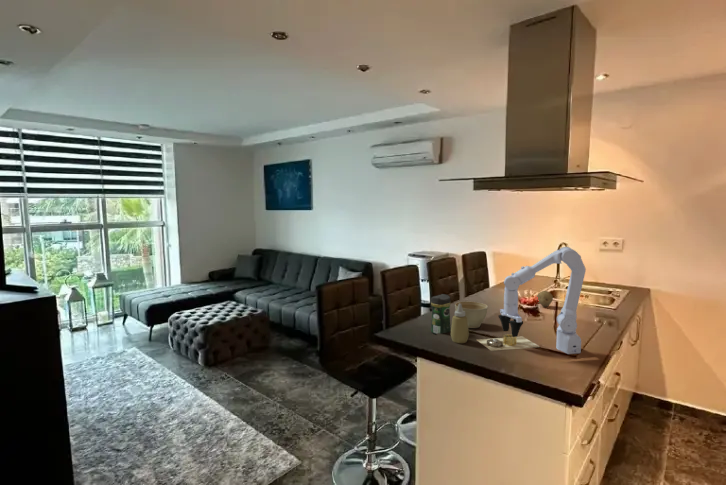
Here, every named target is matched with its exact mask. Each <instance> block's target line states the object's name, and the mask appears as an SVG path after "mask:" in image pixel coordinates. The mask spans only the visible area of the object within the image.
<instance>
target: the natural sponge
mask: <svg viewBox="0 0 726 485" xmlns="http://www.w3.org/2000/svg"><path fill="white" fill-rule="evenodd" d="M537 297H538V300H539V302H537V303H538V304H539V305H541V306H542V307H543V308H547V307H549V306H550V305H551V304H552V302H553V301H554V300H553V299H554V297H553V294H552V293H551V292H550V291H547V290H542V291H539V292H538V293H537V295H536V298H537Z"/></svg>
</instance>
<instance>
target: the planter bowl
mask: <svg viewBox="0 0 726 485" xmlns="http://www.w3.org/2000/svg"><path fill="white" fill-rule="evenodd" d="M459 304H462V309H463V311H464V312H465V316H466V317H467V320H468V329H478V328H480V327H481V325H482V323H483V322H484V320H485V319H486V316H487V315H488V314H487V311H488V309H489V308H488V305H487V304H485V303H482V302H478V301H458V302H456V303H455V304H454V307H455V311H457V309H458V305H459Z"/></svg>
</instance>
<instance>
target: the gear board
mask: <svg viewBox="0 0 726 485" xmlns="http://www.w3.org/2000/svg"><path fill="white" fill-rule="evenodd" d="M490 339H498V340H500V341H503V337H494V338H482V339H481V338H479V339H476V341H477V342H479V343H480V344H481V345H483V346H484V347H486V349H488V350H489V351H491V352H493V351H504V350H506V351H507V350H517V349H532V348H541V346H539V344H537V343H535V342H533V341H531V340H530V339H528V338H526V337H524V336H523V335H522V336H521V335H520V336H517V344H516V345H514V346H510V345H509V346H508V345H506V344H504V343H503V347H500V348H498V347H491V346H488V345H487V340H490Z"/></svg>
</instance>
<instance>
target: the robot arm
mask: <svg viewBox="0 0 726 485" xmlns="http://www.w3.org/2000/svg"><path fill="white" fill-rule="evenodd" d="M562 262H563V263H564V264H566V266H567V267H568V268H569V269H570V271H571V272H570V277H569V281H568V284H567V285H568V286H567V289H566V293H565V298H564V303H563V307H562V308H561V309H560V313H559V314H558V315H557V316H556V323H557V324H558V327H557V328H556V341H555V342H556V344H555V347H556V349H557V350H558V351H561V352H563V353H565V354H567V355H573V354H574V355H575V354H581V353H582V352H581V350H582V338H581V337H580V335H578V333H577V329H578V323H577V318H578V317H577V316H578V315H577V308H578V305H579V300H580V296H581V292H582V288H583V284H584V280H585V276H586V270H587V269H586V267H585V263H584V262H583V259H582V256H581V255H580V253H579V252H578V251H576V250H575V249H572V248H571V247H569V246H563V247H561V248H559V249H556V250H555V251H553V252H551V253H549V254H548V255H546V256H545V257H544V258H542V259H540V260H539V261H537V262H536V263H534V264H533V265H531V266H530V265H524V266H521V267H520V269H518V270H517V271H516V272H512V273H511V275H507V276H506V277H505V278H504V280H503V284H504V293H503V308H500V309H499V313H500V314H499V315H498V319H499V321H500V323H501V327H502V331H503V332H509V331H510V330H509V329H511V334H512V336H513V337H519V334H520V329H521V328H522V326H523V324H524V321H523V318H522V317H521V316H520V314H519V313H518V312H519V311H518V310H519V309H518V308H519V307H518V306H519V293H518V291H519V290H518V289H519V287H520V286H522V285H523V284H525V283H527V282H528V281H530V280H532V279H534V278H535V277H536V273H538V272H540V271H542V270H544V269H545V268H547V267H549V266H551V265H553V264H563V263H562Z"/></svg>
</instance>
